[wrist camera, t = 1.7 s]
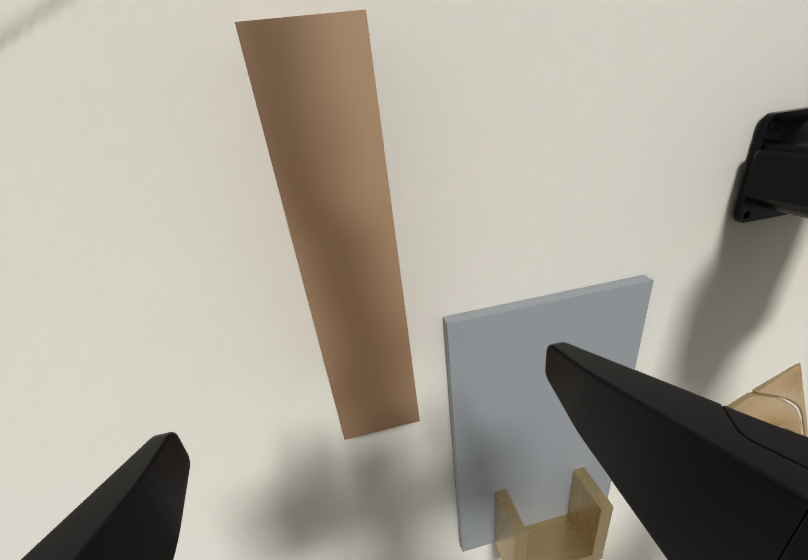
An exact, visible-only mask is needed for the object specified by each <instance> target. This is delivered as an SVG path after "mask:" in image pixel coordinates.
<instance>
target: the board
mask: <svg viewBox="0 0 808 560" xmlns="http://www.w3.org/2000/svg"><path fill="white" fill-rule="evenodd" d="M752 391H753V392H752V393H747V394H745V395H744V396H742V397H740V398H739V399H737V400H736V401H734V402H732V403H731V404H729V405H728V406H727V407H729V408H732V409H734V410H737V411H739V412H742V413H744V414H747V415H750V416H752V417H755V418H757V419H760V420H763V421H765V422H768V423H770V424H773V425H776V426H778V427H781V428H784V429H787V430H790V431H792V432H795V433H798V434H801V435H802V430H801V420H800V417H799V414H798V411H797V409H796V408H795V407H794V406H793V405H791V404H790V403H788V402H786V401H785V400H783V399H780V398H785V399H786V400H789V401H791V402H792V403H794V404H796V405H797V407H798V408H799V410H800V413H801V416H802V426H803V435H804V436H807V437H808V430H807V419H806V411H805V401H804V392H803V382H802V372H801V365H800V363H798V364H796V365H794V366H792V367H790V368H789V369H787V370H785V371H784V372H782V373H780V374H778V375H777V376H775V377H773V378H772V379H770V380H768V381H767V382H765V383H763V384H762V385H760V386H758V387H756V388H755V389H753V390H752ZM778 397H780V398H778Z"/></svg>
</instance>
